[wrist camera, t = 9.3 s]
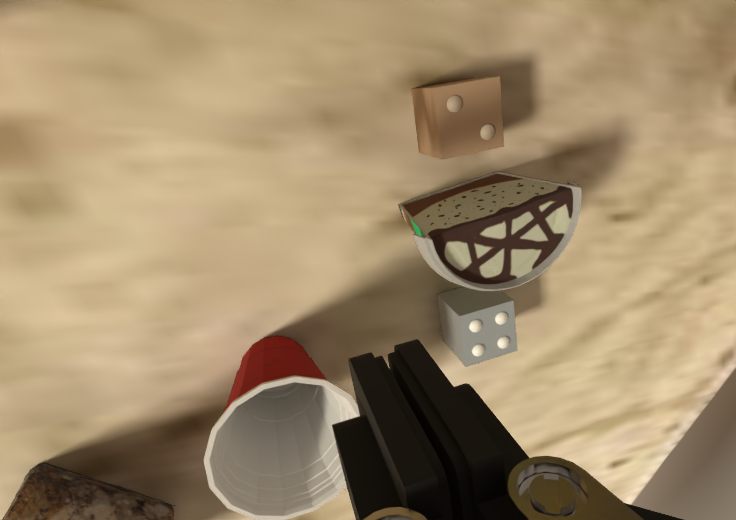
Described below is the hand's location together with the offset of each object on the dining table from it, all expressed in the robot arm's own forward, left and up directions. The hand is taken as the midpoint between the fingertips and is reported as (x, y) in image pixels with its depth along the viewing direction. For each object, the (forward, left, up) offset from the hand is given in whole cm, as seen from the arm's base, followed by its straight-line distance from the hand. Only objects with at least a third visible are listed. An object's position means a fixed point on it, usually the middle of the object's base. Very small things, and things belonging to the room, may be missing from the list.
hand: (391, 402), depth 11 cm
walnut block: (-3, +14, -29) cm, 33 cm away
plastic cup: (+15, -4, -29) cm, 33 cm away
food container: (+6, +14, -29) cm, 33 cm away
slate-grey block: (+15, +14, -29) cm, 36 cm away
